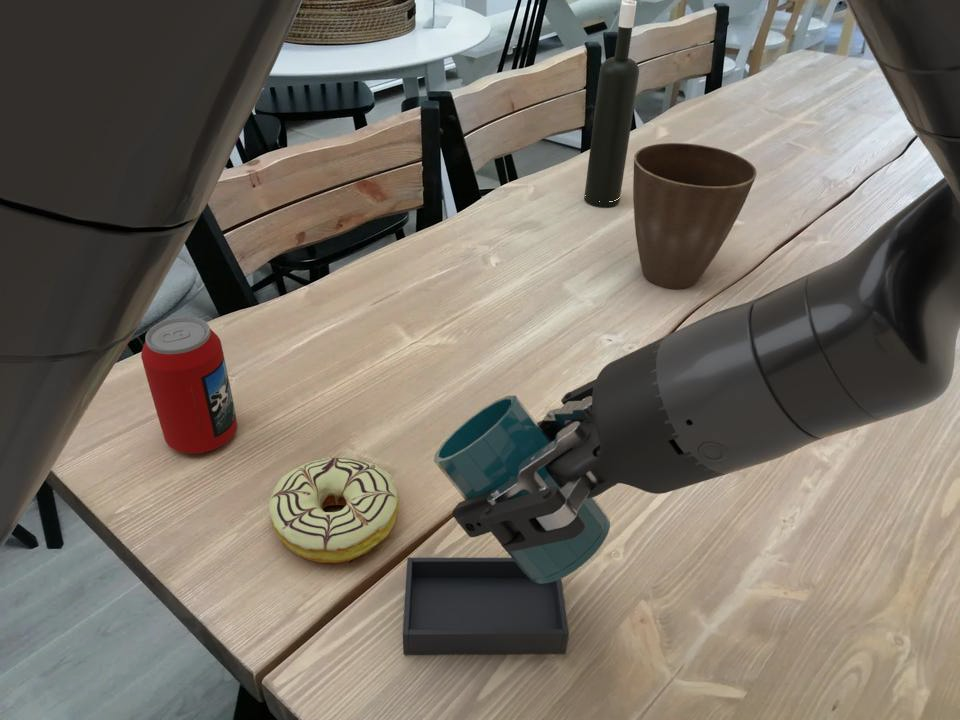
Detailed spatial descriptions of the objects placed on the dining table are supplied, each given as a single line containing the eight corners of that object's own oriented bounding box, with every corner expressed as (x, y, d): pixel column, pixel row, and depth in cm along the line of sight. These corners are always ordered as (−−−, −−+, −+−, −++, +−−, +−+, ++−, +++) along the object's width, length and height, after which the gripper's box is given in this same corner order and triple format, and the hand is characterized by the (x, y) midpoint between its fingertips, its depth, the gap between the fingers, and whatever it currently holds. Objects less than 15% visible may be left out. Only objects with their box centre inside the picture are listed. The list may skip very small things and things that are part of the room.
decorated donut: (345, 461, 70) (342, 430, 67) (423, 522, 64) (423, 491, 62) (248, 520, 63) (242, 489, 61) (326, 594, 57) (322, 562, 55)
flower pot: (693, 246, 109) (717, 139, 99) (748, 297, 97) (781, 181, 88) (599, 255, 105) (615, 145, 96) (644, 309, 94) (667, 190, 84)
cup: (577, 581, 43) (473, 450, 41) (512, 586, 48) (417, 469, 46) (626, 507, 47) (533, 384, 45) (561, 518, 52) (475, 408, 50)
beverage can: (247, 445, 71) (226, 342, 64) (174, 469, 68) (144, 363, 61) (228, 406, 75) (207, 305, 68) (159, 426, 73) (130, 323, 66)
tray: (403, 655, 53) (402, 634, 52) (408, 577, 59) (407, 557, 58) (565, 654, 54) (569, 633, 53) (555, 577, 59) (558, 557, 58)
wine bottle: (587, 191, 124) (612, -5, 107) (621, 196, 123) (652, -2, 105) (580, 204, 120) (605, 1, 102) (616, 210, 118) (647, 5, 101)
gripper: (701, 278, 42) (502, 382, 53) (618, 422, 31) (392, 514, 42) (773, 381, 43) (564, 462, 54) (717, 554, 32) (472, 610, 43)
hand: (489, 484), depth 48 cm, fingers closed on cup, 6 cm apart
